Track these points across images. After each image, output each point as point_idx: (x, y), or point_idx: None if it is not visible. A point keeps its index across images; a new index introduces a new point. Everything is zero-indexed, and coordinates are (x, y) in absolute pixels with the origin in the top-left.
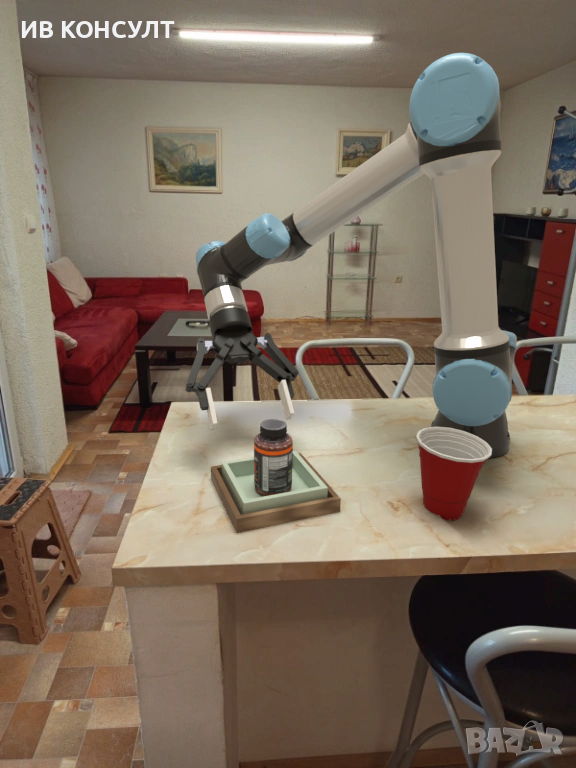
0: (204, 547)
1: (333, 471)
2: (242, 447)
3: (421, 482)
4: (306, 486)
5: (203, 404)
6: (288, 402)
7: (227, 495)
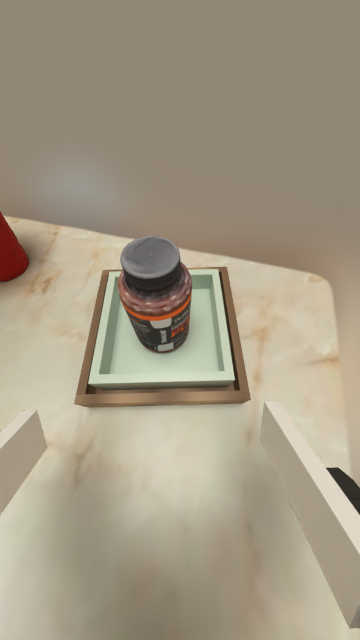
0: (254, 278)
1: (47, 377)
2: (155, 560)
3: (1, 253)
4: (118, 323)
5: (343, 479)
6: (3, 441)
7: (231, 309)
